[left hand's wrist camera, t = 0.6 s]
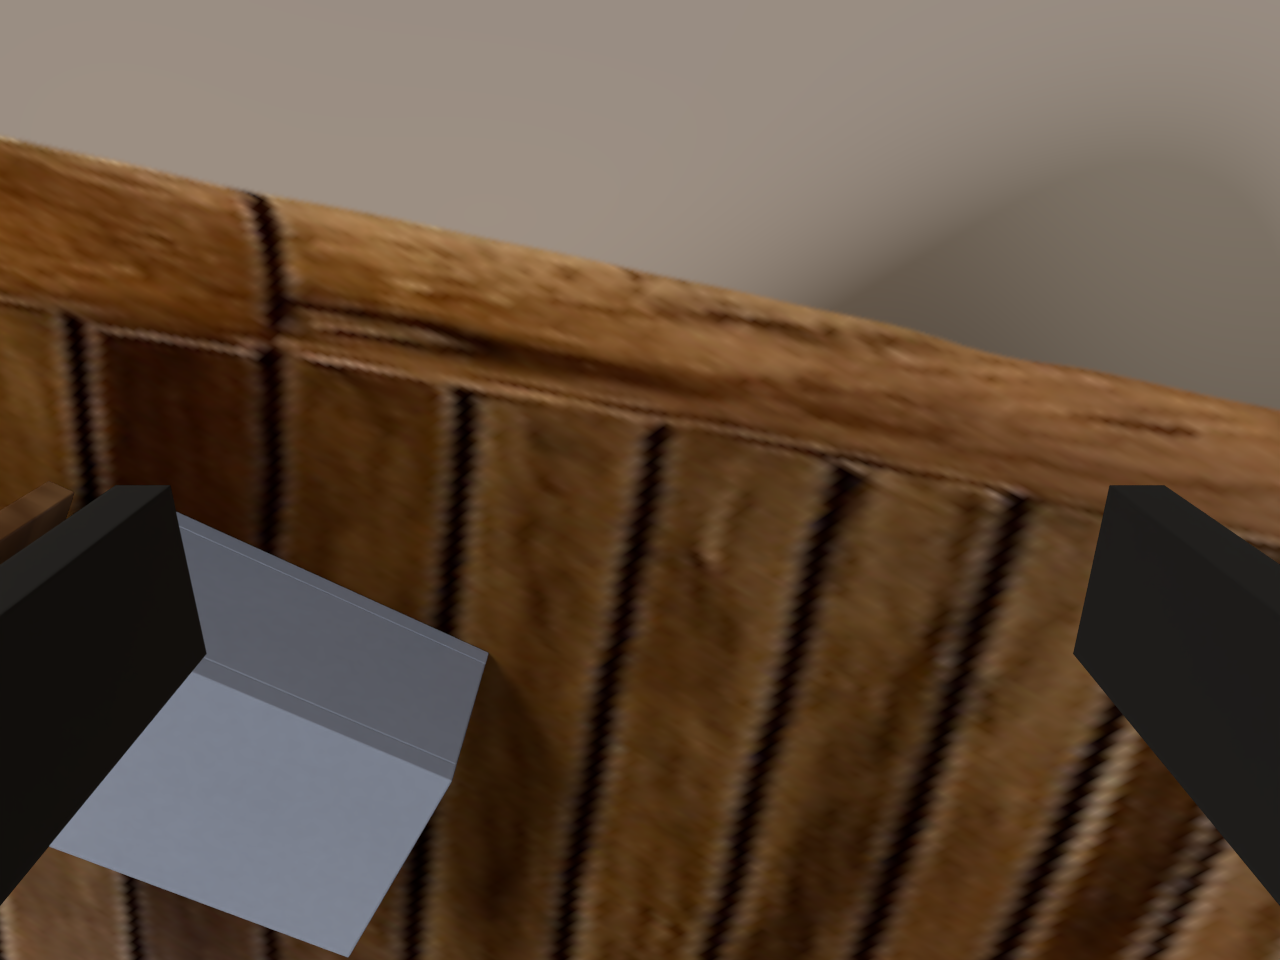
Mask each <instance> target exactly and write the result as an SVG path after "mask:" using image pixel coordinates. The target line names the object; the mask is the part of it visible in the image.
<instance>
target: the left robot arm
mask: <svg viewBox="0 0 1280 960" xmlns="http://www.w3.org/2000/svg"><path fill="white" fill-rule="evenodd" d="M206 654H207V653H206V648H205V643H204V639H203V634H202V629H201V625H200V620H199V616H198V611H197V606H196V602H195V597H194V592H193V588H192V583H191V579H190V574H189V569H188V565H187V560H186V555H185V551H184V546H183V542H182V537H181V532H180V528H179V523H178V518H177V514H176V509H175V505H174V500H173V495H172V491H171V486H170V485H115V486H114V487H113V488H111V489H110V490H108V491H107V492H105V493H104V494H102V495H101V496H99V497H98V498H97V499H95V500H94V501H92V502H91V503H89V504H88V505H86V506H85V507H83V508H82V509H80V510H79V511H78V512H76V513H75V514H73V515H72V516H70V517H69V518H67V519H66V520H64V521H63V522H62V523H60V524H59V525H57V526H56V527H54V528H53V529H51V530H50V531H48V532H47V533H46V534H44V535H43V536H41V537H40V538H38V539H37V540H35V541H34V542H32V543H31V544H30V545H28V546H27V547H25V548H24V549H22V550H21V551H19V552H18V553H16V554H15V555H14V556H12V557H11V558H9V559H8V560H6V561H5V562H3V563H2V564H0V905H1V904H2V903H3V902H4V901H5V899H6V898H7V897H8V896H9V894H10V893H11V892H12V891H13V890H14V888H15V887H16V886H17V885H18V883H19V882H20V881H21V880H22V879H23V877H24V876H25V875H26V874H27V872H28V871H29V870H30V869H31V868H32V866H33V865H34V864H35V863H36V861H37V860H38V859H39V858H40V857H41V855H42V854H43V853H44V852H45V851H46V849H47V848H48V847H49V846H50V844H51V843H52V842H53V841H54V840H55V838H56V837H57V836H58V835H59V833H60V832H61V831H62V830H63V829H64V827H65V826H66V825H67V824H68V822H69V821H70V820H71V819H72V818H73V816H74V815H75V814H76V813H77V811H78V810H79V809H80V808H81V807H82V805H83V804H84V803H85V802H86V800H87V799H88V798H89V797H90V796H91V794H92V793H93V792H94V791H95V790H96V788H97V787H98V786H99V785H100V783H101V782H102V781H103V780H104V779H105V777H106V776H107V775H108V774H109V772H110V771H111V770H112V769H113V768H114V766H115V765H116V764H117V763H118V761H119V760H120V759H121V758H122V757H123V755H124V754H125V753H126V752H127V750H128V749H129V748H130V747H131V746H132V744H133V743H134V742H135V741H136V739H137V738H138V737H139V736H140V735H141V733H142V732H143V731H144V730H145V729H146V727H147V726H148V725H149V724H150V722H151V721H152V720H153V719H154V718H155V716H156V715H157V714H158V713H159V711H160V710H161V709H162V708H163V707H164V705H165V704H166V703H167V702H168V700H169V699H170V698H171V697H172V696H173V694H174V693H175V692H176V691H177V689H178V688H179V687H180V686H181V685H182V683H183V682H184V681H185V680H186V679H187V677H188V676H189V675H190V674H191V672H192V671H193V670H194V669H195V668H196V666H197V665H198V664H199V663H200V661H201V660H202V659H203V658H204V657H205V655H206ZM1073 654H1074V655H1075V657H1076V658H1077V659H1078V660H1079V661H1080V663H1081V664H1082V665H1083V666H1084V668H1085V669H1086V670H1087V671H1088V672H1089V674H1090V675H1091V676H1092V677H1093V679H1094V680H1095V681H1096V682H1097V683H1098V685H1099V686H1100V687H1101V688H1102V689H1103V691H1104V692H1105V693H1106V694H1107V696H1108V697H1109V698H1110V699H1111V700H1112V702H1113V703H1114V704H1115V705H1116V707H1117V708H1118V709H1119V710H1120V711H1121V713H1122V714H1123V715H1124V716H1125V718H1126V719H1127V720H1128V721H1129V722H1130V724H1131V725H1132V726H1133V727H1134V729H1135V730H1136V731H1137V732H1138V733H1139V735H1140V736H1141V737H1142V738H1143V739H1144V741H1145V742H1146V743H1147V744H1148V746H1149V747H1150V748H1151V749H1152V750H1153V752H1154V753H1155V754H1156V755H1157V757H1158V758H1159V759H1160V760H1161V761H1162V763H1163V764H1164V765H1165V766H1166V768H1167V769H1168V770H1169V771H1170V772H1171V774H1172V775H1173V776H1174V777H1175V779H1176V780H1177V781H1178V782H1179V783H1180V785H1181V786H1182V787H1183V788H1184V790H1185V791H1186V792H1187V793H1188V794H1189V796H1190V797H1191V798H1192V799H1193V800H1194V802H1195V803H1196V804H1197V805H1198V807H1199V808H1200V809H1201V810H1202V811H1203V813H1204V814H1205V815H1206V816H1207V818H1208V819H1209V820H1210V821H1211V822H1212V824H1213V825H1214V826H1215V827H1216V829H1217V830H1218V831H1219V832H1220V833H1221V835H1222V836H1223V837H1224V838H1225V840H1226V841H1227V842H1228V843H1229V844H1230V846H1231V847H1232V848H1233V849H1234V851H1235V852H1236V853H1237V854H1238V855H1239V857H1240V858H1241V859H1242V860H1243V861H1244V863H1245V864H1246V865H1247V866H1248V868H1249V869H1250V870H1251V871H1252V872H1253V874H1254V875H1255V876H1256V877H1257V879H1258V880H1259V881H1260V882H1261V883H1262V885H1263V886H1264V887H1265V888H1266V890H1267V891H1268V892H1269V893H1270V894H1271V896H1272V897H1273V898H1274V899H1275V901H1276V902H1277V903H1278V904H1279V905H1280V564H1278V563H1277V562H1275V561H1274V560H1272V559H1271V558H1269V557H1268V556H1266V555H1265V554H1264V553H1262V552H1261V551H1259V550H1258V549H1256V548H1255V547H1253V546H1252V545H1250V544H1249V543H1248V542H1246V541H1245V540H1243V539H1242V538H1240V537H1239V536H1237V535H1236V534H1234V533H1233V532H1232V531H1230V530H1229V529H1227V528H1226V527H1224V526H1223V525H1221V524H1220V523H1218V522H1217V521H1216V520H1214V519H1213V518H1211V517H1210V516H1208V515H1207V514H1205V513H1204V512H1202V511H1201V510H1199V509H1198V508H1197V507H1195V506H1194V505H1192V504H1191V503H1189V502H1188V501H1186V500H1185V499H1183V498H1182V497H1181V496H1179V495H1178V494H1176V493H1175V492H1173V491H1172V490H1170V489H1169V488H1167V487H1166V486H1165V485H1110V486H1109V491H1108V495H1107V500H1106V505H1105V509H1104V514H1103V518H1102V523H1101V528H1100V532H1099V537H1098V542H1097V546H1096V551H1095V555H1094V560H1093V565H1092V569H1091V574H1090V579H1089V583H1088V588H1087V592H1086V597H1085V602H1084V606H1083V611H1082V616H1081V620H1080V625H1079V629H1078V634H1077V639H1076V643H1075V648H1074V653H1073Z"/></svg>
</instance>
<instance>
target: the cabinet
mask: <svg viewBox="0 0 1280 960" xmlns="http://www.w3.org/2000/svg"><path fill="white" fill-rule="evenodd" d="M176 514H177V518H178V523H179V528H180V532H181V537H182V542H183V546H184V551H185V555H186V560H187V565H188V569H189V574H190V579H191V583H192V588H193V592H194V597H195V602H196V606H197V611H198V616H199V620H200V625H201V629H202V634H203V639H204V643H205V648H206V653H207V654H206V655H205V657H204V658H203V659H202V660H201V661H200V663H199V664H198V665H197V666H196V668H195V669H194V670H193V671H192V672H191V674H190V675H189V676H188V677H187V679H186V680H185V681H184V682H183V683H182V685H181V686H180V687H179V688H178V689H177V691H176V692H175V693H174V694H173V696H172V697H171V698H170V699H169V700H168V702H167V703H166V704H165V705H164V707H163V708H162V709H161V710H160V711H159V713H158V714H157V715H156V716H155V718H154V719H153V720H152V721H151V722H150V724H149V725H148V726H147V727H146V729H145V730H144V731H143V732H142V733H141V735H140V736H139V737H138V738H137V739H136V741H135V742H134V743H133V744H132V746H131V747H130V748H129V749H128V750H127V752H126V753H125V754H124V755H123V757H122V758H121V759H120V760H119V761H118V763H117V764H116V765H115V766H114V768H113V769H112V770H111V771H110V772H109V774H108V775H107V776H106V777H105V779H104V780H103V781H102V782H101V783H100V785H99V786H98V787H97V788H96V790H95V791H94V792H93V793H92V794H91V796H90V797H89V798H88V799H87V800H86V802H85V803H84V804H83V805H82V807H81V808H80V809H79V810H78V811H77V813H76V814H75V815H74V816H73V818H72V819H71V820H70V821H69V822H68V824H67V825H66V826H65V827H64V829H63V830H62V831H61V832H60V833H59V835H58V836H57V837H56V838H55V840H54V841H53V842H52V843H51V844H50V846H49V847H52V848H55V849H57V850H60V851H63V852H66V853H68V854H71V855H74V856H76V857H79V858H82V859H84V860H87V861H90V862H92V863H95V864H98V865H101V866H103V867H106V868H109V869H111V870H114V871H117V872H119V873H122V874H125V875H127V876H130V877H133V878H136V879H138V880H141V881H144V882H146V883H149V884H152V885H154V886H157V887H160V888H162V889H165V890H168V891H171V892H173V893H176V894H179V895H181V896H184V897H187V898H189V899H192V900H195V901H197V902H200V903H203V904H206V905H208V906H211V907H214V908H216V909H219V910H222V911H224V912H227V913H230V914H232V915H235V916H238V917H241V918H243V919H246V920H249V921H251V922H254V923H257V924H259V925H262V926H265V927H267V928H270V929H273V930H276V931H278V932H281V933H284V934H286V935H289V936H292V937H294V938H297V939H300V940H302V941H305V942H308V943H311V944H313V945H316V946H319V947H321V948H324V949H327V950H329V951H332V952H335V953H338V954H340V955H343V956H346V957H349V956H350V954H351V952H352V951H353V949H354V947H355V945H356V944H357V942H358V940H359V939H360V937H361V935H362V934H363V932H364V930H365V928H366V927H367V925H368V923H369V922H370V920H371V918H372V917H373V915H374V913H375V911H376V910H377V908H378V906H379V905H380V903H381V901H382V899H383V898H384V896H385V894H386V893H387V891H388V889H389V888H390V886H391V884H392V882H393V881H394V879H395V877H396V876H397V874H398V872H399V871H400V869H401V867H402V865H403V864H404V862H405V860H406V859H407V857H408V855H409V854H410V852H411V850H412V848H413V847H414V845H415V843H416V842H417V840H418V838H419V836H420V835H421V833H422V831H423V830H424V828H425V826H426V825H427V823H428V821H429V819H430V818H431V816H432V814H433V813H434V811H435V809H436V808H437V806H438V804H439V802H440V801H441V799H442V797H443V796H444V794H445V792H446V790H447V789H448V787H449V785H450V784H451V782H452V779H453V776H454V772H455V769H456V765H457V761H458V758H459V754H460V751H461V748H462V744H463V741H464V737H465V734H466V730H467V727H468V723H469V720H470V716H471V713H472V709H473V706H474V702H475V699H476V695H477V692H478V688H479V685H480V681H481V678H482V674H483V671H484V667H485V664H486V661H487V657H488V654H489V653H488V652H486V651H483V650H481V649H479V648H477V647H475V646H472V645H470V644H468V643H466V642H463V641H461V640H459V639H457V638H455V637H452V636H450V635H448V634H446V633H444V632H441V631H439V630H437V629H435V628H433V627H430V626H428V625H426V624H424V623H421V622H419V621H417V620H415V619H413V618H410V617H408V616H406V615H404V614H402V613H399V612H397V611H395V610H393V609H390V608H388V607H386V606H384V605H382V604H379V603H377V602H375V601H373V600H371V599H368V598H366V597H364V596H362V595H360V594H357V593H355V592H353V591H351V590H348V589H346V588H344V587H342V586H340V585H337V584H335V583H333V582H331V581H329V580H326V579H324V578H322V577H320V576H317V575H315V574H313V573H311V572H309V571H306V570H304V569H302V568H300V567H298V566H295V565H293V564H291V563H289V562H286V561H284V560H282V559H280V558H278V557H275V556H273V555H271V554H269V553H267V552H264V551H262V550H260V549H258V548H256V547H253V546H251V545H249V544H247V543H244V542H242V541H240V540H238V539H236V538H233V537H231V536H229V535H227V534H225V533H222V532H220V531H218V530H216V529H213V528H211V527H209V526H207V525H205V524H202V523H200V522H198V521H196V520H194V519H191V518H189V517H187V516H185V515H183V514H180V513H178V512H176Z"/></svg>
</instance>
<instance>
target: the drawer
mask: <svg viewBox="0 0 1280 960" xmlns="http://www.w3.org/2000/svg"><path fill="white" fill-rule="evenodd" d="M73 496H74V492H72V491H70V490H68V489H66V488H64V487H61V486H59V485H57V484H55V483H52V482H50V481H48V482H47V483H45V484H43V485H42V486H40V487H38V488H37V489H35V490H33V491H32V492H30V493H28V494H27V495H25V496H23V497H22V498H20V499H18V500H17V501H15V502H14V503H12V504H10V505H9V506H7V507H5V508H4V509H2V510H0V564H2V563H3V562H5V561H6V560H8V559H9V558H11V557H12V556H14V555H15V554H16V553H18V552H19V551H21V550H22V549H24V548H25V547H27V546H28V545H30V544H31V543H32V542H34V541H35V540H37V539H38V538H40V537H41V536H43V535H44V534H46V533H47V532H48V531H50V530H51V529H53V528H54V527H56V526H57V525H59V524H60V523H62V522H63V521H64V520H66V517H67V514H68V511H69V508H70V505H71V502H72V499H73Z"/></svg>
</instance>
